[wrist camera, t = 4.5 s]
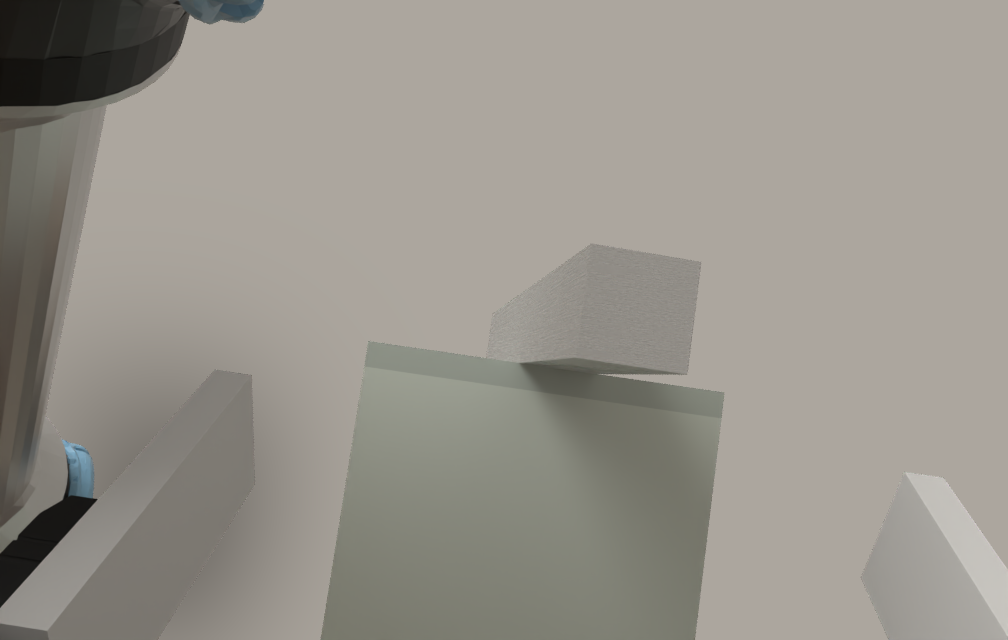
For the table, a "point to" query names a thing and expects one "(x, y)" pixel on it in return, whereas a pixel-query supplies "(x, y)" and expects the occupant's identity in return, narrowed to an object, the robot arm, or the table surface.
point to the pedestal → (521, 503)
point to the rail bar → (603, 315)
